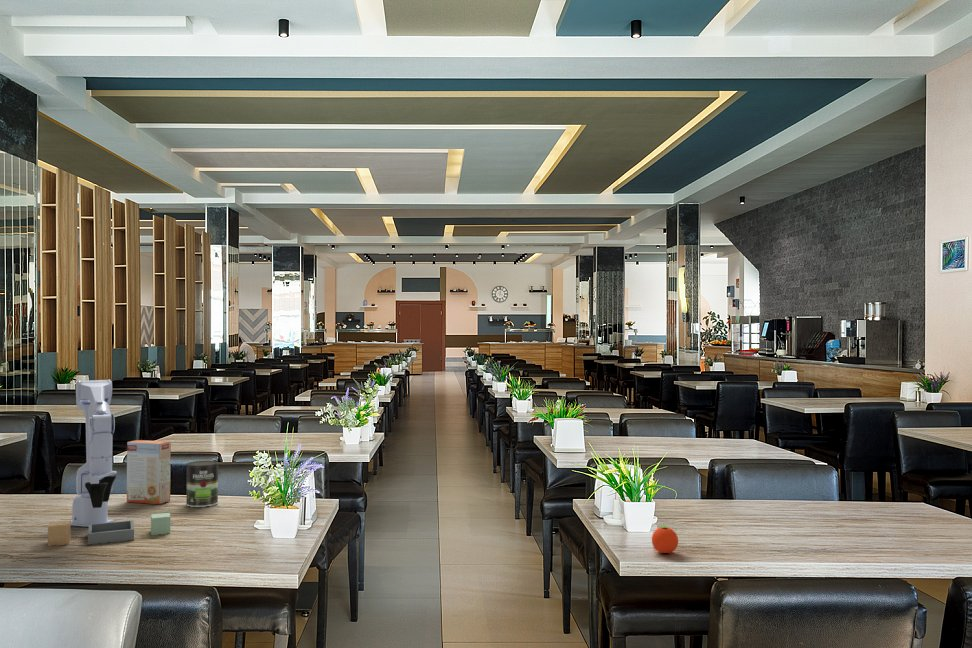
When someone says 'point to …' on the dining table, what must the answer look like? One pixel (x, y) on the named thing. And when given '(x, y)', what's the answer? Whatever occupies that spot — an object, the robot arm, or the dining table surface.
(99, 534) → the tote
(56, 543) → the brown box
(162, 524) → the light box
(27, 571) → the dining table surface
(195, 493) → the coffee can
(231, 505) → the dining table surface
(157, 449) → the cracker box
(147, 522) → the dining table surface
